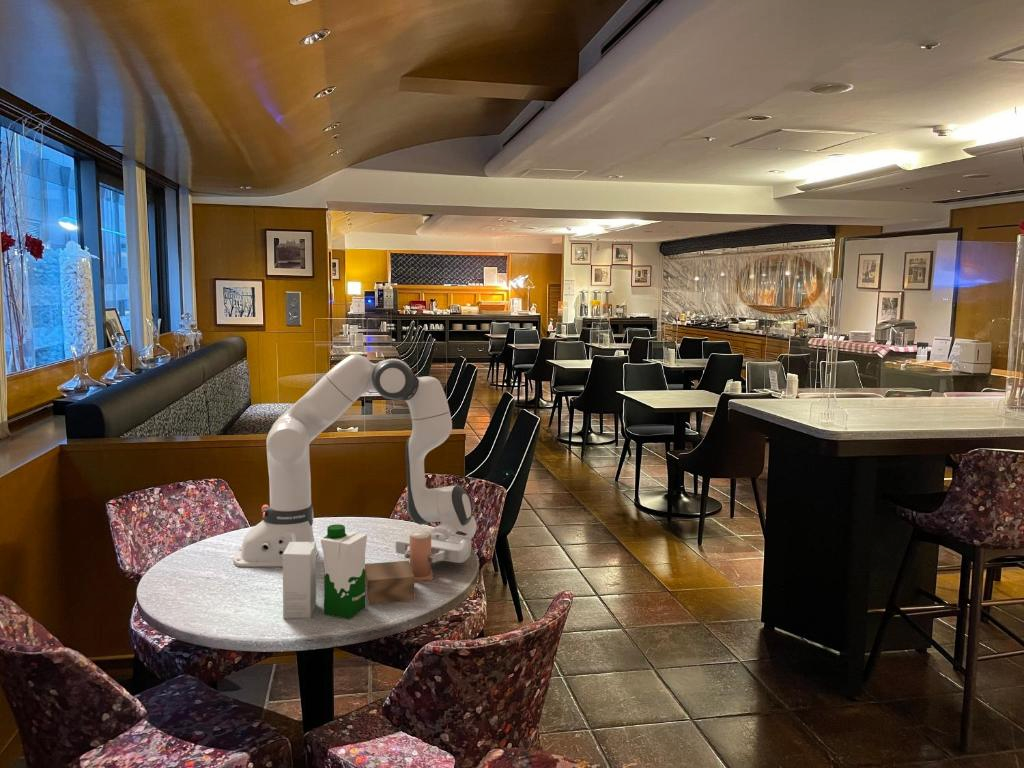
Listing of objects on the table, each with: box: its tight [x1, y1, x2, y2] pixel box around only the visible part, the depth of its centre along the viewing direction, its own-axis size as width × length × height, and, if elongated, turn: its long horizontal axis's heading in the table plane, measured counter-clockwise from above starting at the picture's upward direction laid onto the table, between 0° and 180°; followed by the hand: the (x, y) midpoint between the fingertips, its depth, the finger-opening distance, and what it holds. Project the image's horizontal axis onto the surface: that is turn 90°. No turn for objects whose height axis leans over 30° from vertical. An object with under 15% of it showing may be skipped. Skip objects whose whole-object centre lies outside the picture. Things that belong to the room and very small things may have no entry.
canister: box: [409, 530, 434, 583], centre depth 195 cm, size 7×7×12 cm
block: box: [365, 560, 415, 605], centre depth 185 cm, size 11×11×6 cm
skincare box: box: [282, 541, 317, 620], centre depth 173 cm, size 8×7×16 cm
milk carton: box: [320, 523, 368, 620], centre depth 173 cm, size 9×9×20 cm
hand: (418, 557), depth 194 cm, fingers closed on canister, 6 cm apart
